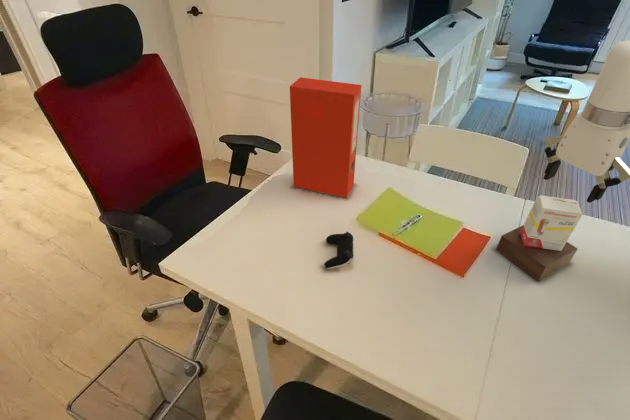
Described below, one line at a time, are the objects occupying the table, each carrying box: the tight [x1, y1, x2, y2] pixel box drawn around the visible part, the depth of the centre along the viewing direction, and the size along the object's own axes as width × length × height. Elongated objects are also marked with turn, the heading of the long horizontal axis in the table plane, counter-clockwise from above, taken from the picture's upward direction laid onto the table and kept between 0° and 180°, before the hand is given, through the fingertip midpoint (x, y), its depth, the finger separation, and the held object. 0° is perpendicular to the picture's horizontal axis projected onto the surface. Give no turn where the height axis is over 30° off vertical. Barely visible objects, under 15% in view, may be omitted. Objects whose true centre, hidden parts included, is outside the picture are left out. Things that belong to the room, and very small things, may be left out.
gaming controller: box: [323, 231, 355, 270], centre depth 92 cm, size 11×4×7 cm
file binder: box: [289, 77, 362, 199], centre depth 107 cm, size 8×17×32 cm, turn 70°
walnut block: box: [495, 225, 578, 282], centre depth 92 cm, size 12×12×5 cm
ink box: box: [520, 194, 584, 251], centre depth 86 cm, size 9×5×12 cm, turn 76°
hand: (569, 188), depth 80 cm, fingers open, 9 cm apart
